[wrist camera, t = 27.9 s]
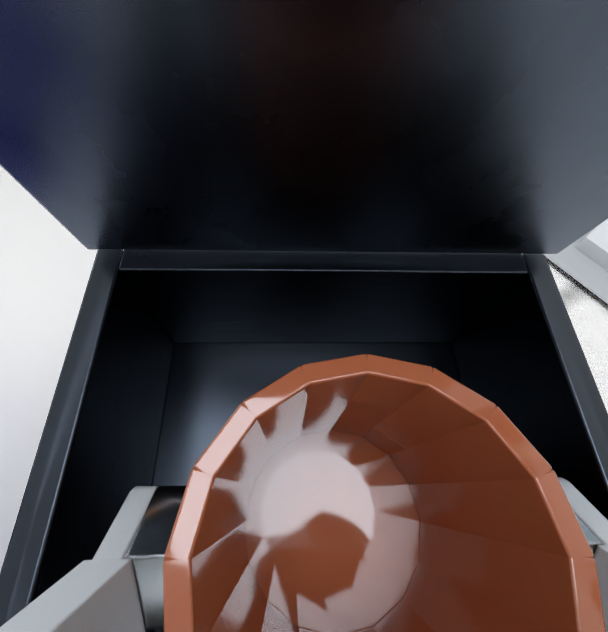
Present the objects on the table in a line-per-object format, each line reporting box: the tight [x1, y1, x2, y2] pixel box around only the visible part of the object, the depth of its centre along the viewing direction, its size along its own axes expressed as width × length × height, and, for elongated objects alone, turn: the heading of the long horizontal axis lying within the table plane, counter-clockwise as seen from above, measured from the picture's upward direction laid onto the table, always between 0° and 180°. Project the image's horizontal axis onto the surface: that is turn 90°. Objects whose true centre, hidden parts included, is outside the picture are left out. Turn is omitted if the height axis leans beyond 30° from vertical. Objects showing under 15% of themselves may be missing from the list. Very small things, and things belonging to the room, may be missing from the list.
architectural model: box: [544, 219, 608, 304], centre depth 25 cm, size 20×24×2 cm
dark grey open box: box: [0, 249, 608, 632], centre depth 11 cm, size 16×15×7 cm
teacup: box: [163, 354, 606, 632], centre depth 8 cm, size 6×6×7 cm
